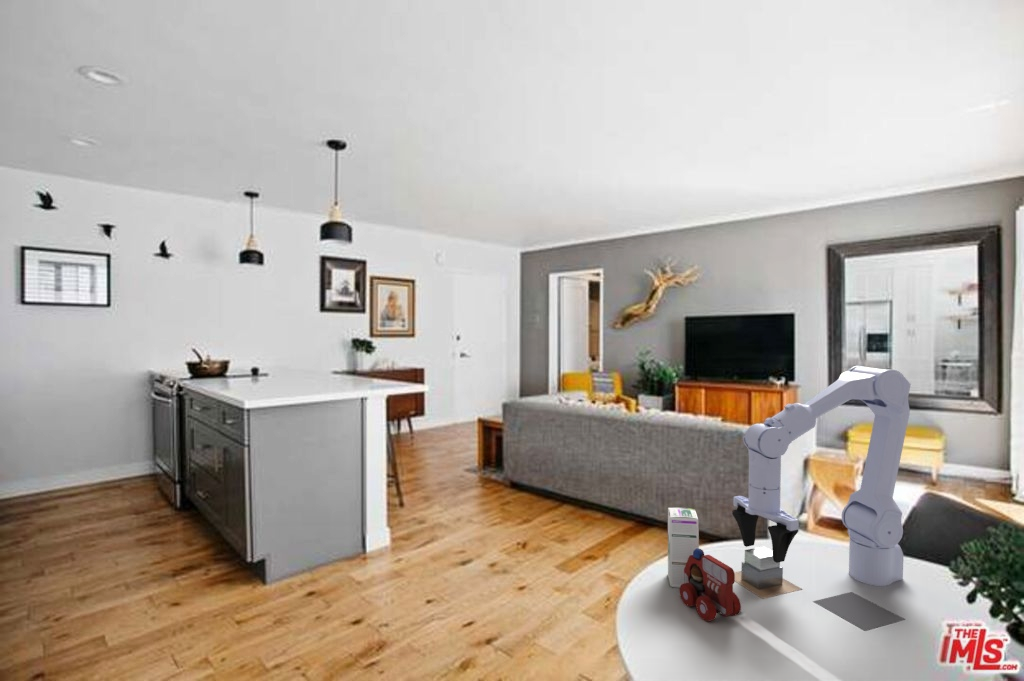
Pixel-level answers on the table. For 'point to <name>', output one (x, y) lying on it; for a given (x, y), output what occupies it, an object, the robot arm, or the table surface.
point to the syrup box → (681, 542)
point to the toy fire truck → (709, 586)
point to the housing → (761, 569)
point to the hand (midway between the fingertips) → (763, 553)
